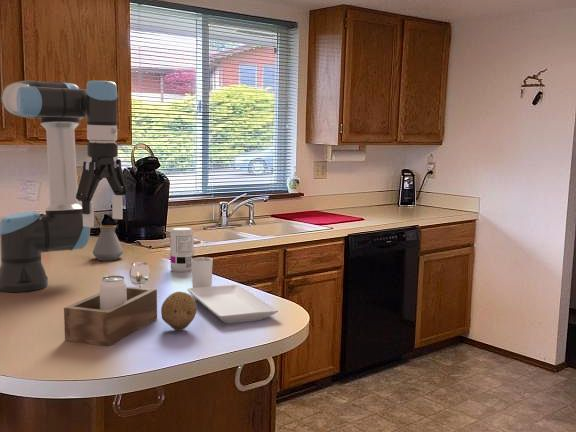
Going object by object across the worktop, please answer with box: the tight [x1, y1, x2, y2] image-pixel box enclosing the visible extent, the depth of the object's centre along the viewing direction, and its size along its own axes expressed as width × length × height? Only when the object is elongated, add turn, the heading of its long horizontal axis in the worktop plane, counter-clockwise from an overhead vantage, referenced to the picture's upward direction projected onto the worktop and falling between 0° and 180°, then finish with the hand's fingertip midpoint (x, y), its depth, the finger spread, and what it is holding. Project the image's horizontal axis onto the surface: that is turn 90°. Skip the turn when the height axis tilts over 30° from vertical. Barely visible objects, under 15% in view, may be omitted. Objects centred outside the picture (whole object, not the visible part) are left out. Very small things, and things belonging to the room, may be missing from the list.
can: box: [99, 275, 127, 310], centre depth 157 cm, size 6×6×12 cm
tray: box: [187, 284, 279, 324], centre depth 178 cm, size 17×32×4 cm, turn 25°
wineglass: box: [128, 261, 151, 288], centre depth 180 cm, size 6×6×12 cm
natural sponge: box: [160, 291, 198, 332], centre depth 157 cm, size 9×9×10 cm
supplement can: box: [169, 226, 195, 273], centre depth 226 cm, size 8×8×15 cm
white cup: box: [191, 256, 214, 288], centre depth 197 cm, size 7×7×10 cm
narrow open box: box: [63, 285, 158, 347], centre depth 158 cm, size 12×23×8 cm, turn 164°
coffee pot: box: [92, 215, 124, 262], centre depth 247 cm, size 21×12×15 cm, turn 33°
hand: (103, 222), depth 166 cm, fingers open, 13 cm apart
